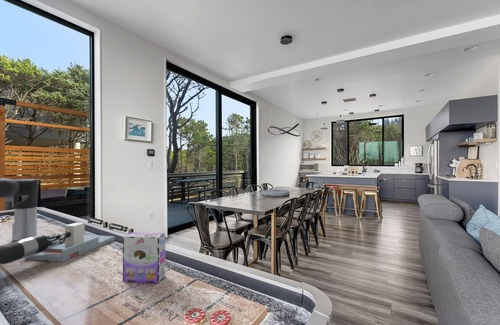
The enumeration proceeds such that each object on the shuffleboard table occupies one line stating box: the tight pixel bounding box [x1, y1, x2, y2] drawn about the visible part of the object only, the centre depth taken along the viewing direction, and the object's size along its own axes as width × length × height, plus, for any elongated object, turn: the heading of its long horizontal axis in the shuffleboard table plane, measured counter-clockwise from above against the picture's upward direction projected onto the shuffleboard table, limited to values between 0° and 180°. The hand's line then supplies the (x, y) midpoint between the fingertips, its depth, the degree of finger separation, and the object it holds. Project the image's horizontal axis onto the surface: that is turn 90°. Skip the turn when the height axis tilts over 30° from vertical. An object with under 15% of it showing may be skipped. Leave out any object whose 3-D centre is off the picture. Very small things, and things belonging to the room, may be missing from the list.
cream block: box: [64, 222, 86, 247], centre depth 117 cm, size 6×5×10 cm
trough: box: [24, 233, 116, 263], centre depth 117 cm, size 30×20×5 cm, turn 170°
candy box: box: [122, 231, 166, 284], centre depth 87 cm, size 14×6×16 cm, turn 84°
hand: (69, 234), depth 114 cm, fingers closed
